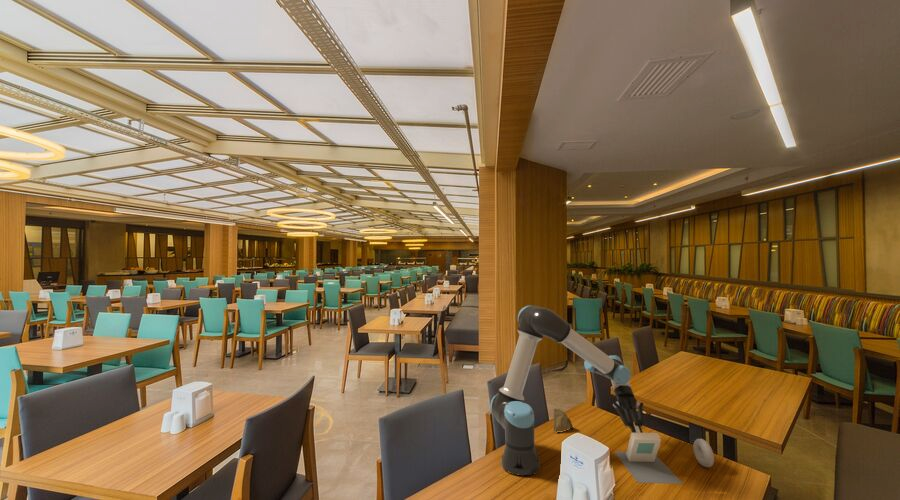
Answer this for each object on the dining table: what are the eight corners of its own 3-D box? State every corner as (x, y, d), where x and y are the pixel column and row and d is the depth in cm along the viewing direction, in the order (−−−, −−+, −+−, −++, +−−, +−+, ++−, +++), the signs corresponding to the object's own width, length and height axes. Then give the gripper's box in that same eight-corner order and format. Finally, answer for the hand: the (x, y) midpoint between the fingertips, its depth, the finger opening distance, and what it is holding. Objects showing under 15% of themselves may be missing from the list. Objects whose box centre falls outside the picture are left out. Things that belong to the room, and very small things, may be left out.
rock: (571, 420, 179) (551, 416, 181) (575, 410, 174) (554, 406, 176) (573, 441, 170) (552, 437, 172) (577, 432, 166) (555, 427, 167)
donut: (716, 473, 136) (715, 446, 136) (707, 472, 136) (705, 445, 136) (700, 459, 146) (699, 434, 146) (692, 458, 146) (690, 433, 146)
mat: (614, 453, 151) (614, 451, 151) (652, 453, 150) (652, 452, 150) (637, 484, 129) (637, 482, 129) (683, 485, 128) (683, 483, 128)
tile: (626, 454, 146) (631, 432, 141) (651, 454, 146) (657, 432, 140) (629, 461, 144) (634, 439, 138) (654, 461, 143) (661, 439, 137)
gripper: (634, 392, 165) (654, 447, 147) (605, 392, 166) (622, 446, 148) (639, 384, 160) (660, 440, 142) (609, 384, 161) (627, 440, 143)
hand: (641, 443), depth 145 cm, fingers closed
